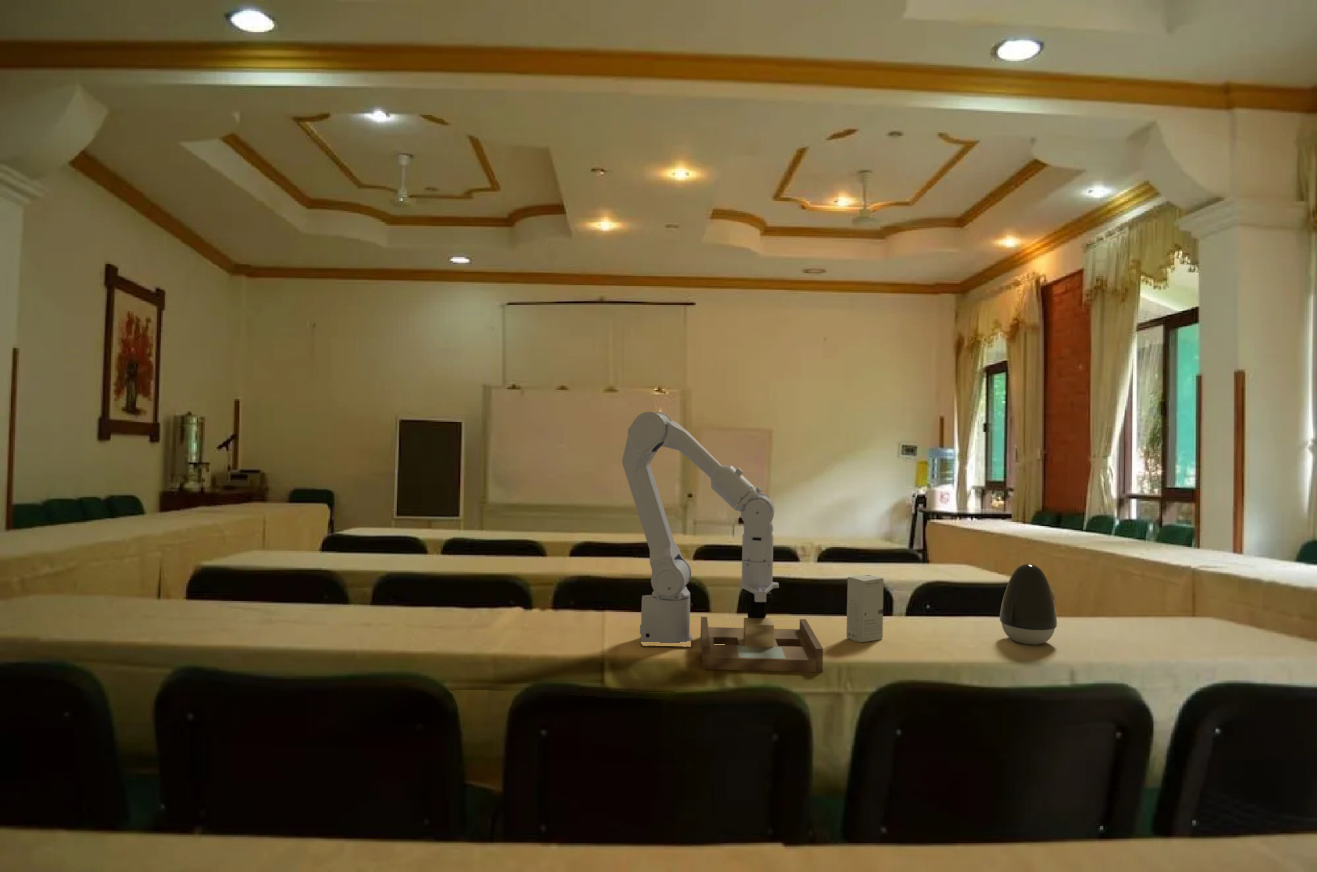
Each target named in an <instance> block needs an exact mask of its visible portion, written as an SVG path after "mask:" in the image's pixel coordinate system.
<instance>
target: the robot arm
mask: <svg viewBox="0 0 1317 872" xmlns="http://www.w3.org/2000/svg"><path fill="white" fill-rule="evenodd" d="M661 447H663V448H666V449H672V450H676V451H679V452H680V453H681V454H683V455H684V456H685V457H686V458H687V459H688V460H690V461H691V462H692V463H693V464H694V465H695V466H696V467H698V468H699V469H700V470H701V471H702V472H703V473H705V475H706V476H708V477H709V478H710V486H711V487H710V488H711V489H712V490H713V491H714V492H716V494H717V495H718V496H719V497H721V498H722V500H724V501H725V503H727V504H728V505H729V506H730V507H731V508H732V509H733V510H735V511H737V512H740V516H741V520H742V522H743V534H742V543H741V544H742V546H741V547H742V549H741V550H742V551H741V581H740V588H742V589H744V590H745V591H744V592H741V598H742V601H743V602H744V605H745V608H746V613H747V618H766V617H767V613H768V610H769V608H770V606H771V604H772V602H773V594H772V592H771V591H772V590H773V589H778V588H780V584H779V582H777V581H776V582H775V581H773V577H774V576H773V575H774V574H773V573H774V572H773V569H774V566H773V564H774V563H773V562H774V535H773V531H774V525H773V519H774V515H775V506H774V502H773V501H772V500H771V499H770V496H769V495H767V494H766V493H762V489H761V487H759V486H756V487H755V485H753V484H752V483H751V482H750V480H749V479H747V478H746V477H745V476H744V475H743V474H744V471H743V469H742V468H740V467H737V468H735V467H734V466H733V465H723V464H721V462H719V461H718V460H717V459H716V458H715V457H714V456H713V455H712V454H711V453H710V452H709V451H708V450H707V449H706V448H705V447H704V446H703V445H702V444H701V443H700V442H699V441H698V440H697V439H696V438H695V436H693V435H692V434H691V433H690V432H689V431H688V430H687V429H685V427H683V426H682V425H681V424H679V423H678V422H676V421H675V420H672V419H671V418H670V417H669V415H668V414H667V413H665V412H661V411H655V412H654V411H644V412H641V413H639V414H638V415H637V416H636V417H635V419H634V420H633V422H632V423H631V424H630V426H629V427H628V429H627V438H626V442H625V447H624V451H623V455H622V459H621V460H622V466H623V467H622V468H623V470H624V473H625V476H626V480H627V483H628V485H629V490H630V493H631V495H632V499H633V502H634V504H635V508H636V511H637V515H638V517H639V520H640V524H641V527H642V530H643V534H644V537H645V540H646V543H647V546H648V548H649V565H650V567H651V578H650V584H651V587H652V590H653V591H652V592H651V593H652V594H646V595H642V596H641V612H640V614H641V617H640V625H639V635H640V643H641V642H660V643H680V642H687V641H691V640H693V639H692V634H691V633H690V632H691V631H690V629H691V626H690V624H691V621H690V620H691V619H690V618H691V592H690V591H689V589H688V587H687V585H688V584H689V582H690V581H691V578H692V569H691V566H690V564H689V563H688V561H686V559H685V558H684V557H683V556H682V555H683V554H682V552H681V550H680V547H678V545H677V544H676V542H675V539H674V536H673V533H672V529H671V527H670V524H669V521H668V518H667V515H666V512H665V511H666V510H665V508H664V504H663V502H662V499H661V496H660V493H659V488H658V485H657V482H656V480H655V479H656V478H655V477H654V474H653V470H652V466H651V463H652V460H654V458H655V456H656V454H657V452H658V451H659V449H661ZM746 591H747V592H746Z"/></svg>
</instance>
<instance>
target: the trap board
mask: <svg viewBox="0 0 1317 872" xmlns="http://www.w3.org/2000/svg"><path fill="white" fill-rule="evenodd" d="M743 634H744V627H724V626H723V627H719V626H717V627H716V626H714V627H713V626H709V623H708V616H700V647H701V646H702V652H701V659H702V658H703V661H702V660H701V664H702V670H722V671H723V670H725V671H726V670H727V671H730V670H731V671H762V672H766V671H767V672H770V671H771V672H800V673H801V672H802V673H803V672H804V673H805V672H808V673H823V672H824V670H823V669H824V667H823V666H824V648H823V646H822V645H821V642H820V640H818V638H817V636H816V634H815V633H814V631H813V629H812V626H811V625H810V624H809V622H808V621H807V619H806V618H799V629H798V628H774V647H745V643H744V639H743ZM714 644H725V645H714ZM702 662H703V663H702Z"/></svg>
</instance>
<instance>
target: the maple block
mask: <svg viewBox="0 0 1317 872" xmlns="http://www.w3.org/2000/svg"><path fill="white" fill-rule="evenodd" d="M743 628H744V634H743V639H744V643H745V647H774V629H775V624H774V623H773V620H772V618H770V617H769V618H748V617H743Z"/></svg>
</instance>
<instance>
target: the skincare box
mask: <svg viewBox="0 0 1317 872" xmlns="http://www.w3.org/2000/svg"><path fill="white" fill-rule="evenodd" d="M846 588H847V592H846V601H847V602H846V638H848V639H849V640H852V641H855V642H857V643H861V642H862V643H866V642H867V643H868V642H873V641H879V640H882V639H883V635H884V633H883V630H884V628H883V626H884V625H883V623H884V621H883V620H884V578H883V577H880V576H876V575H872V574H871V575H870V574H866V575H865V574H863V575H854V576H853V575H852V576H848V577H847V587H846Z"/></svg>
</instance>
